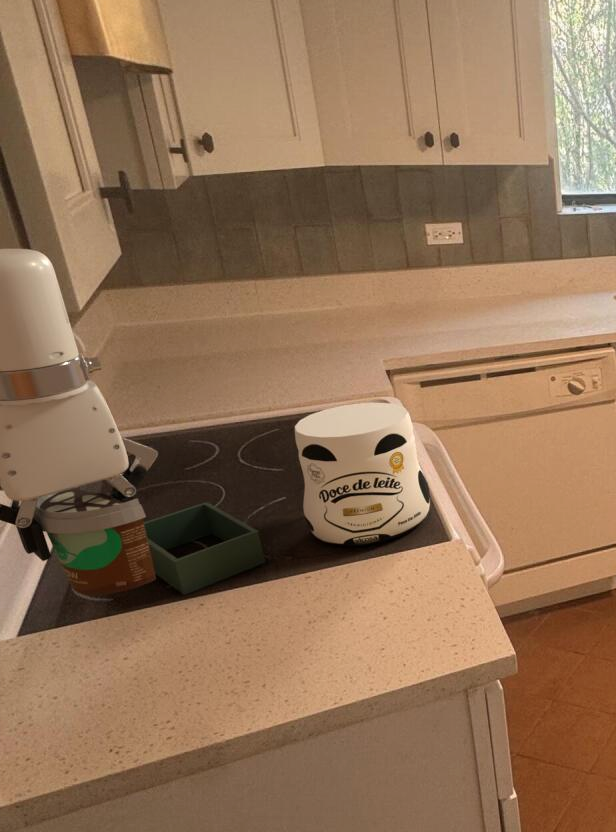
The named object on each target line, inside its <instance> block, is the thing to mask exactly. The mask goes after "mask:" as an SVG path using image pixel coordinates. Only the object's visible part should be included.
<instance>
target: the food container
mask: <svg viewBox="0 0 616 832" xmlns="http://www.w3.org/2000/svg"><path fill="white" fill-rule="evenodd" d="M33 517H34V519H35V520H36V521H37V522H38V523H39V524H40V525H41V527H42V530H43V533H44V532H45V533H46V534H47V537H48V538H49V541H50V544H51V546H52V548H53V550H54V553H55V554H56V556H57V558H58V561H59V563H60V565H61V567H62V569H63V572H64V573H65V576H66V578H67V580H68V581H69V584H70V587H71V588H72V590H73V591H74V592H76V593H78V594H82V595H87V596H98V595H99V596H101V595H109V594H115V593H121V592H124V591H128V590H132V589H135V588H138V587H141V586H144V585H147V584H149V583H151V582H153V581H156V580H157V577H156V576H157V575H156V574H155V572H154V567H153V563H152V558H151V554H150V549H149V545H148V540H147V536H146V531H145V527H144V522H145V521H144V518H146V517H147V515H146V513H145V510H144V508H143V505H142V504H140V501H139V498H134V500H131V501H128V502H125V503H124V502H121V501H119V500H117V499H115V498H113V497H111V496H110V495H109V494H106V493H103V492H96V491H95V492H94V491H87V490H83V489H80V488H79V487H77V488H73V489H69V490H66V491H62V492H58V493H55V494H51V495H47V496H43V497H39V498H38V502H37V505H36V509H35V512H34V516H33Z"/></svg>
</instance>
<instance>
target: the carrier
mask: <svg viewBox="0 0 616 832" xmlns="http://www.w3.org/2000/svg"><path fill="white" fill-rule="evenodd" d="M143 522H144V527H145V531H146V536H147V540H148V545H149V549H150V554H151V558H152V563H153V567H154V572H155V576H158V577H159V578H160V579H161V580H163V581H164V582H166V583H167V584H168V585H170V586H171V587H173V588H174V589H175V590H177V591H178V592H179V593H181V594H182V595H183V596H186V595H189V594H190V593H193V592H195V591H199V590H201V589H203V588H205V587H208V586H211V585H214V584H216V583H218V582H220V581H223V580H225V579H228V578H231V577H233V576H236V575H239V574H241V573H243V572H246V571H248V570H251V569H253V568H256V567H258V566H260V565H263V564H266V558H265V554H264V550H263V545H262V541H261V538H260V534H259V530H256V529H255V528H253V527H251V526H250V525H249V524H246V523H244V522H243V521H241V520H239V519H237V518H236V517H234V516H232V515H230V514H228V513H227V512H225V511H223V510H222V509H220V508H218V507H216V506H215V505H213V504H211V503H209V502H208V501H205V502H203V503H199V504H195V505H194V506H190V507H187V508H184V509H181V510H178V511H175V512H172V513H169V514H166V515H161V516H160V517H155V518H154V519H150V520H147V521H143ZM210 535H213V536H215V537H216V538H218V539H219V540H221V541H223V542H220V543H217V544H214V545H212V546H208V547H205V548H204V549H200V550H198V551H195V552H192V553H189V554H187V555H184V556H181V557H179V558H177V557H176V556H175V555H173V554H172V553H170V552H168V551H169V550H171V549H175V548H176V547H179V546H182V545H185V544H188V543H190V542H193V541H196V540H199V539H202V538H205V537H208V536H210Z"/></svg>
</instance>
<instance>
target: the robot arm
mask: <svg viewBox="0 0 616 832" xmlns="http://www.w3.org/2000/svg"><path fill="white" fill-rule="evenodd" d="M61 291H62V290H61V288H60V284H59V280H58V279H57V275H56V271H55V268H54V266H53V263H52V262H51V260H50V258H48V257H47V255H45V254H44V253H42V252H40V251H38V250H35V249H29V248H0V491H2V492H4V494H5V495H6V497H7V498H8V499H9V500H10V503H9V505H5V504H2V503H0V521H1V522H3V523H7V524H11V525H13V526H15V527H16V530H17V533H18V536H19V538H20V541H21V544H22V547H23V549H24V551H25V553H27V554H28V555H30V554H33V553H34V554H35V556H36V557H38V558H39V559H40V560H41V561H42V562H45V561H47V560H50V558H52V554H51V551H50V549H49V546H48V542H47V539H46V536H45V533H44V531H43V530H42V527H41V525H40V524H39V523H38V522H37V521H36V520H35V519H34V517H33V516H34V512H35V509H36V505H37V502H38V498H39V497H43V496H47V495H51V494H55V493H58V492H62V491H66V490H69V489H73V488H80V487H83V486H88V485H91V484H94V483H99V482H101V481H105V482H106V483H107V484H108V485H109V486H110V487H111V488H112V489H111V490H112V491H111V492H110V494H109V496H111V497H113V498H115V499H117V500H119V501H121V502H124V503H125V502H128V501H131V500H134V499H135V498H134V496H135V495H136V493H137V489H138V487H139V485H140V484H141V483H142V481H143V480H144V478H146V476H147V475H148V470H149V469H150V468H151V467H152V465H153V464H154V462H155V461H156V459H157V458H158V456H159V452H158V451H157V450H156V449H155V448H152V447H151V446H147V445H144V444H142V443H140V442H137V441H134V440H132V439H129V438H126V437H124V436H121V433H120V430H119V429H118V425H117V424H116V421H115V419H114V416H113V414H112V412H111V410H110V408H109V406H108V404H107V401H106V399H105V398H104V396H103V394H102V392H101V390H100V389H99V387H98V386H97V384H96V383H95V382H94V381H92V380H90V379H89V377H90V374H92V373H93V372H96V371H101V370H102V364H101V361H100V359H99V358H98V357H97V356H94V357H87V356H86V357H84V356H82V355H81V354H80V353H79V350H78V345H77V342H76V339H75V335H74V332H73V329H72V326H71V322H70V319H69V315H68V311H67V307H66V305H65V301H64V298H63V295H62V292H61ZM128 454H131V455H133V456H135V458H134V460H133V462H132V464H131V465H130V463H129V457H128Z"/></svg>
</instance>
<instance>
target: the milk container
mask: <svg viewBox="0 0 616 832" xmlns="http://www.w3.org/2000/svg"><path fill="white" fill-rule="evenodd" d="M294 440H295V444H296V447H297V451H298V460H299V464H300V467H301V470H302V475H303V480H304V491H303V492H304V493H303V503H302V504H303V515H304V518H305V521H306V523H307V526H308V528H309V531H310V532H311V534H312V535H313V536H314V537H315V538H316V539H318V540H319V541H321V542H324V543H326V544H328V545H333V546H335V545H336V546H341V547H360V546H361V547H363V546H368V545H372V544H373V545H374V544H379V543H384V542H387V541H389V540H393V539H395V538H398V537H401V536H403V535H405V534H407V533H408V532H410V531H412V530H414V529H415V528H416V527H417V526H419V525H420V524H421V523H422V522H423V521H424V520H425V519H426V517H427V516H428V513H429V511H430V505H431V492H430V486H429V483H428V481H427V478H426V476H425V474H424V472H423V469H422V468H421V466H420V463H419V459H418V452H417V446H416V437H415V435H414V426H413V422H412V419H411V416H410V413H409V411H408V410H407V409H406V407H405V406H402V405H399V404H396V403H389V402H361V403H353V404H344V405H339V406H334V407H331V408H326V409H322V410H320V411H317V412H314V413H311V414H308V415H307V416H305V417H303V418H301V419H300V420H298V421H297V423H296V424H295V425H294Z"/></svg>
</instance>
